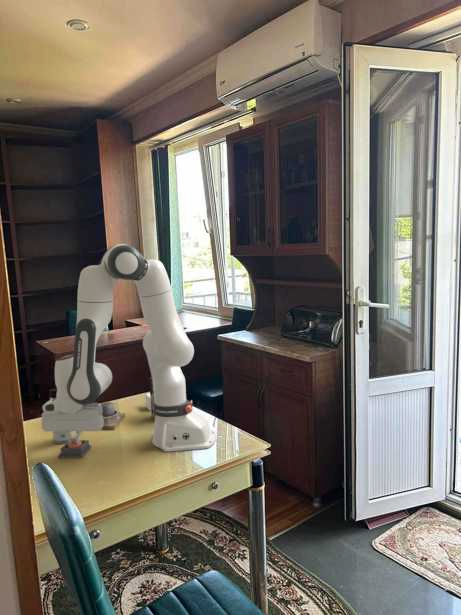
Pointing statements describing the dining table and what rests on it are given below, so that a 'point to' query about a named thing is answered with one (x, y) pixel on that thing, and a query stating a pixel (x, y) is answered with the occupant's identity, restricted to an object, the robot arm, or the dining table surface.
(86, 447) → the button housing
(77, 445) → the button
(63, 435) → the travel mug
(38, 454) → the dining table surface
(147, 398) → the adhesive note
